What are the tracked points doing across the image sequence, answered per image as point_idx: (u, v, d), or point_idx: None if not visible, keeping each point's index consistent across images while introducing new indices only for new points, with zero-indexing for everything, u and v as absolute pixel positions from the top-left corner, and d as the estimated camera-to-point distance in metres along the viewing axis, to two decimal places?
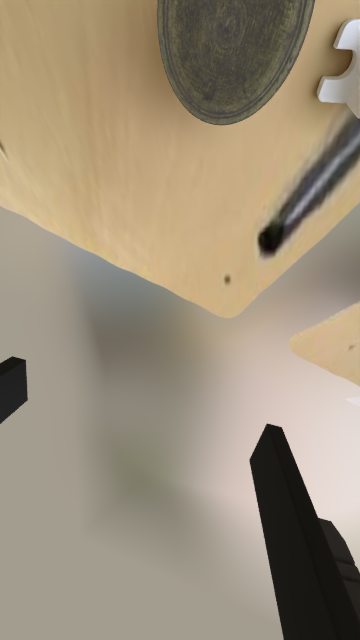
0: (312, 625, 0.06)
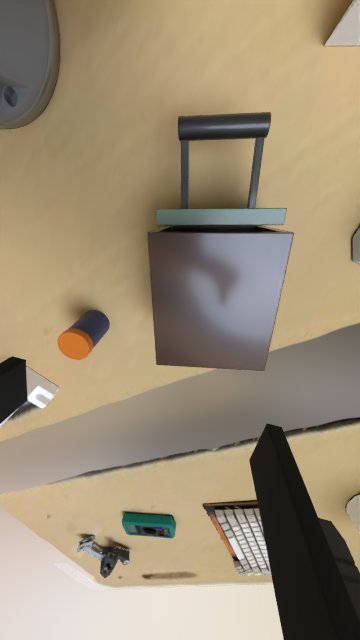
0: (312, 625, 0.06)
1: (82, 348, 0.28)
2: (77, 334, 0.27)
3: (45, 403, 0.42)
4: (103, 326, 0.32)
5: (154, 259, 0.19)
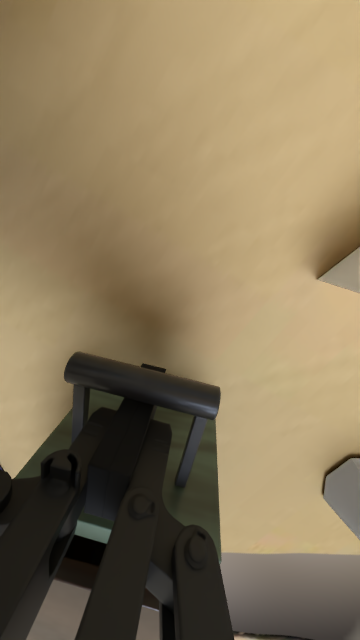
0: None
1: None
2: None
3: None
4: None
5: None
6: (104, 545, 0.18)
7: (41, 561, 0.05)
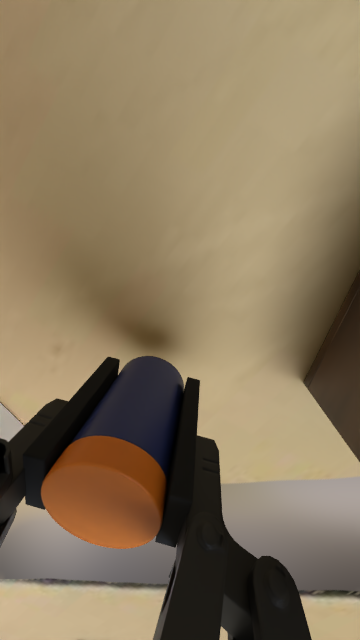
0: (167, 492, 0.08)
1: (132, 525, 0.07)
2: (134, 480, 0.07)
3: None
4: (180, 408, 0.12)
5: None
6: None
7: None
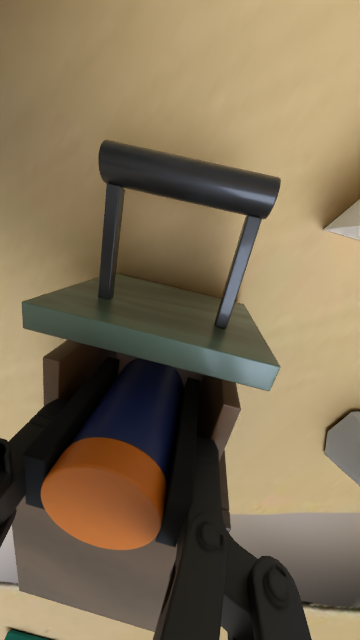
0: (167, 492, 0.08)
1: (132, 526, 0.07)
2: (134, 482, 0.07)
3: None
4: None
5: None
6: None
7: None
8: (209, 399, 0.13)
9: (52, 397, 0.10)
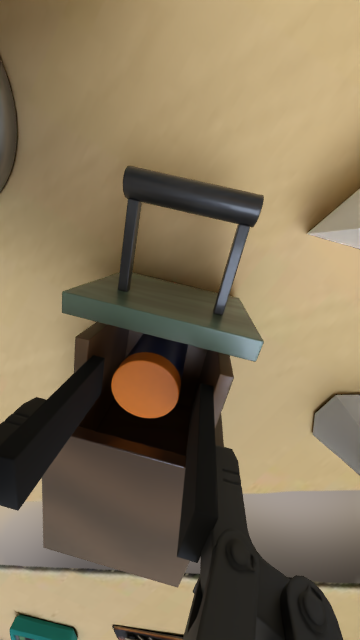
0: (189, 506, 0.08)
1: (162, 399, 0.13)
2: (165, 369, 0.13)
3: None
4: (186, 353, 0.18)
5: None
6: (134, 421, 0.19)
7: None
8: (209, 376, 0.15)
9: None
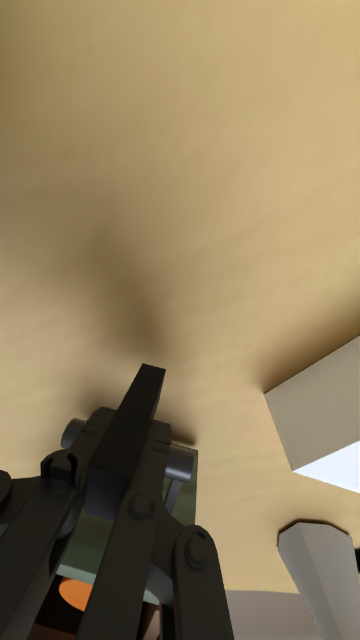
0: None
1: None
2: None
3: None
4: None
5: None
6: None
7: (41, 561, 0.05)
8: None
9: None
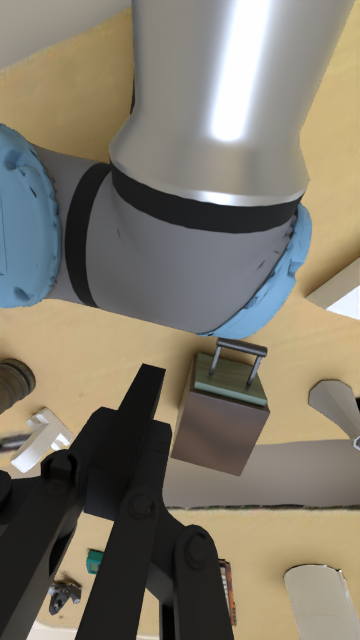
0: None
1: None
2: None
3: (59, 447, 0.51)
4: None
5: (189, 404, 0.31)
6: None
7: (41, 561, 0.05)
8: None
9: None
